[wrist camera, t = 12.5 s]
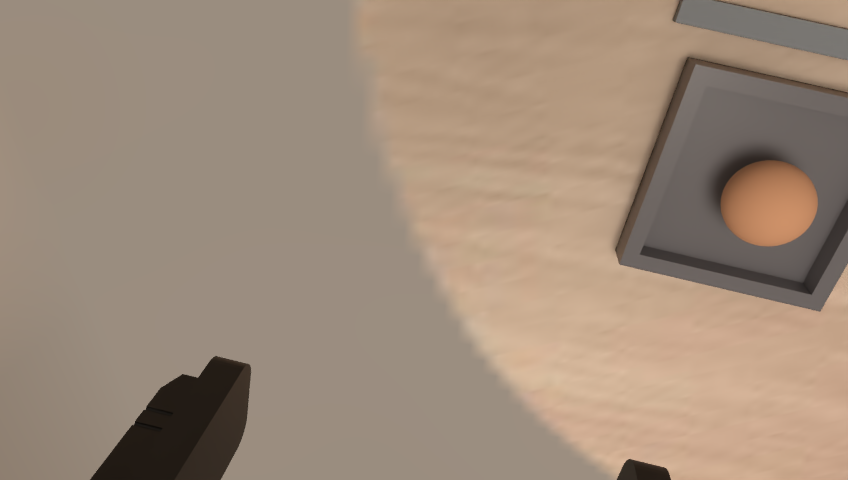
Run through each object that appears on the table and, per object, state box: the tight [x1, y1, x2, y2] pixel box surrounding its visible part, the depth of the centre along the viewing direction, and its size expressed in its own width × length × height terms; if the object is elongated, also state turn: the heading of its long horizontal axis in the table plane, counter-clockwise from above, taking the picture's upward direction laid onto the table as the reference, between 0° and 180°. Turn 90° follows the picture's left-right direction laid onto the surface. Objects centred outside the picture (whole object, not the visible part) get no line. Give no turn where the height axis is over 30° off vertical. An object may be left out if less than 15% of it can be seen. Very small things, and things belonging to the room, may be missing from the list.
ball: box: [720, 160, 818, 246], centre depth 38 cm, size 5×5×5 cm
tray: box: [616, 57, 848, 311], centre depth 40 cm, size 13×13×2 cm
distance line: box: [673, 0, 848, 60], centre depth 36 cm, size 2×16×1 cm, turn 79°
